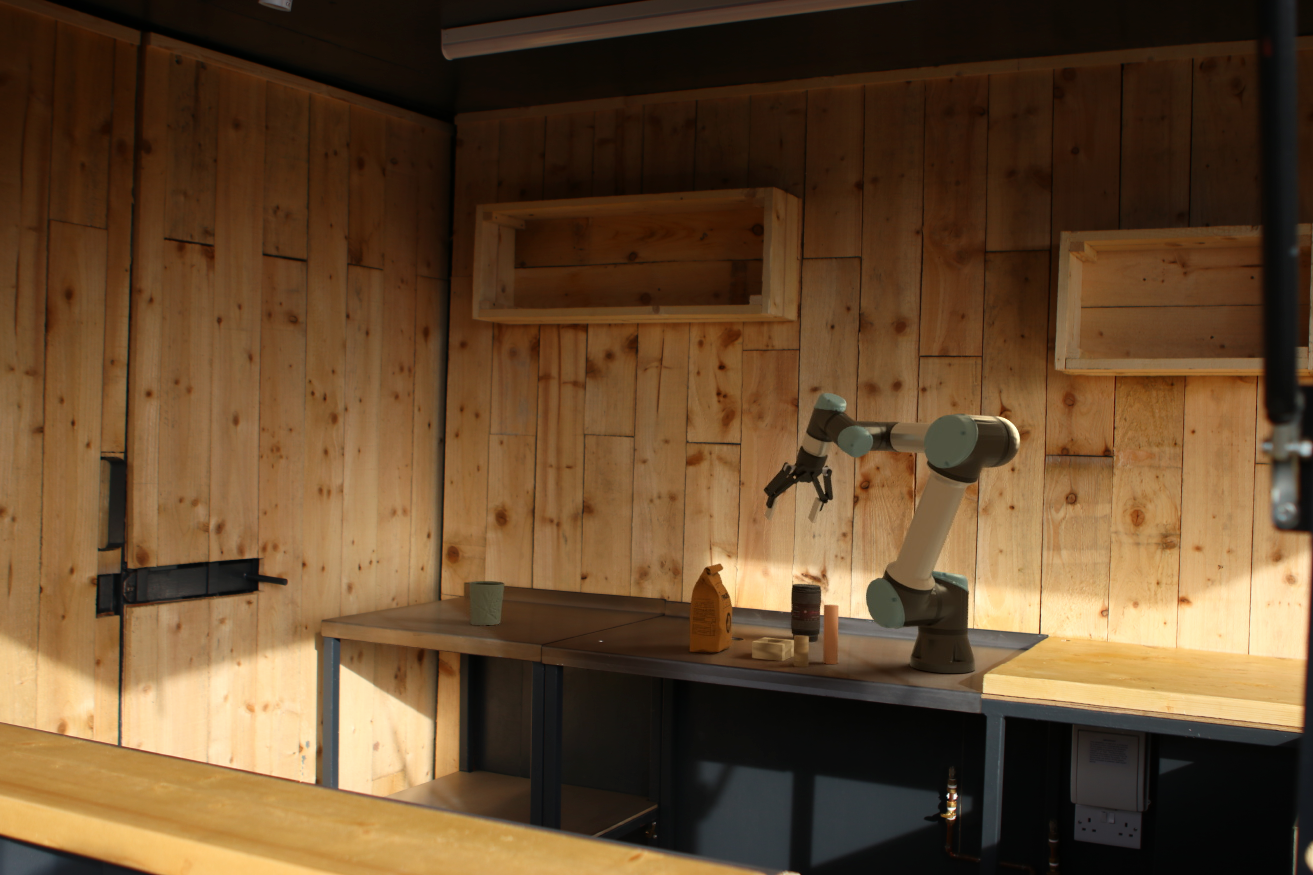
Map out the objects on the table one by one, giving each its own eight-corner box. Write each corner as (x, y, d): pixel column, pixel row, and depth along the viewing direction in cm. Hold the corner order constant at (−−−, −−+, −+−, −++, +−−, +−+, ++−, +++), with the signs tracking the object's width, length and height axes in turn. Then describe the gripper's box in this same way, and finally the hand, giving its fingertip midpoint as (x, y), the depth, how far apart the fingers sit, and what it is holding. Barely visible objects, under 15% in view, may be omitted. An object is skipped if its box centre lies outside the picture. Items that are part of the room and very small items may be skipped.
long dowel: (839, 662, 272) (840, 605, 272) (835, 664, 269) (835, 606, 269) (825, 661, 274) (826, 604, 274) (821, 663, 271) (821, 605, 271)
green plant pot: (463, 622, 326) (463, 581, 326) (494, 620, 331) (495, 579, 331) (477, 627, 317) (478, 585, 317) (509, 624, 323) (510, 583, 323)
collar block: (793, 656, 280) (793, 640, 280) (782, 660, 273) (782, 644, 273) (764, 652, 284) (764, 637, 284) (752, 657, 277) (752, 641, 277)
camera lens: (819, 642, 300) (820, 587, 300) (789, 641, 302) (790, 586, 302) (821, 638, 308) (822, 583, 308) (792, 636, 310) (792, 582, 310)
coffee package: (738, 648, 290) (739, 563, 290) (719, 656, 278) (721, 568, 279) (702, 645, 294) (704, 561, 294) (683, 652, 283) (684, 565, 283)
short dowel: (810, 665, 268) (810, 636, 268) (805, 667, 265) (805, 638, 265) (796, 663, 270) (797, 634, 270) (791, 666, 267) (791, 636, 267)
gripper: (848, 446, 298) (823, 514, 307) (767, 439, 288) (743, 509, 297) (861, 460, 292) (835, 528, 301) (779, 453, 282) (754, 524, 291)
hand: (789, 519), depth 299 cm, fingers open, 13 cm apart
